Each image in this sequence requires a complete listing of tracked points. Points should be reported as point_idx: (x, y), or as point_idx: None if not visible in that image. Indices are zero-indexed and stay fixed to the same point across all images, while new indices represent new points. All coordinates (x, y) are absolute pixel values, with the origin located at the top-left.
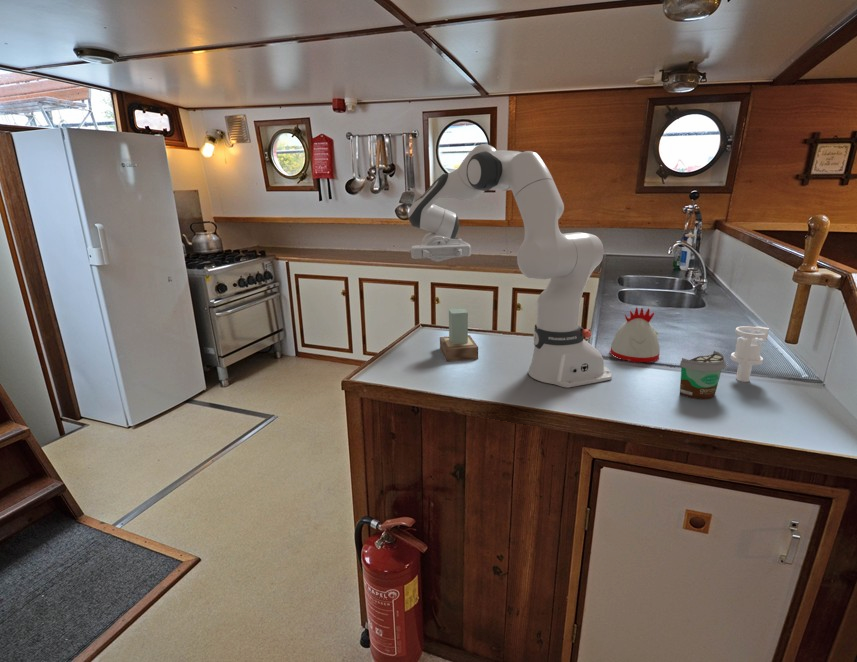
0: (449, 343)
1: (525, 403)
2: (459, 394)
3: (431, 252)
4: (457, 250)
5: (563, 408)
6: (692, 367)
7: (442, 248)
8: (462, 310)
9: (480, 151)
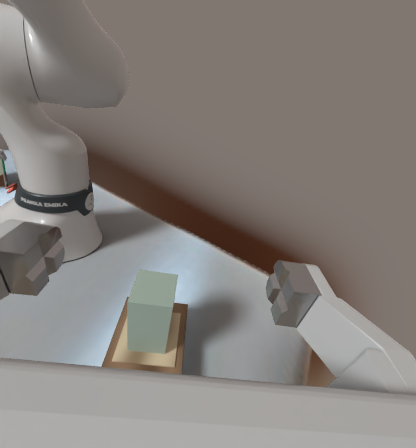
0: (173, 328)
1: (145, 215)
2: (194, 240)
3: (283, 261)
4: (18, 237)
5: (122, 204)
6: (5, 155)
7: (132, 376)
8: (142, 287)
9: None
